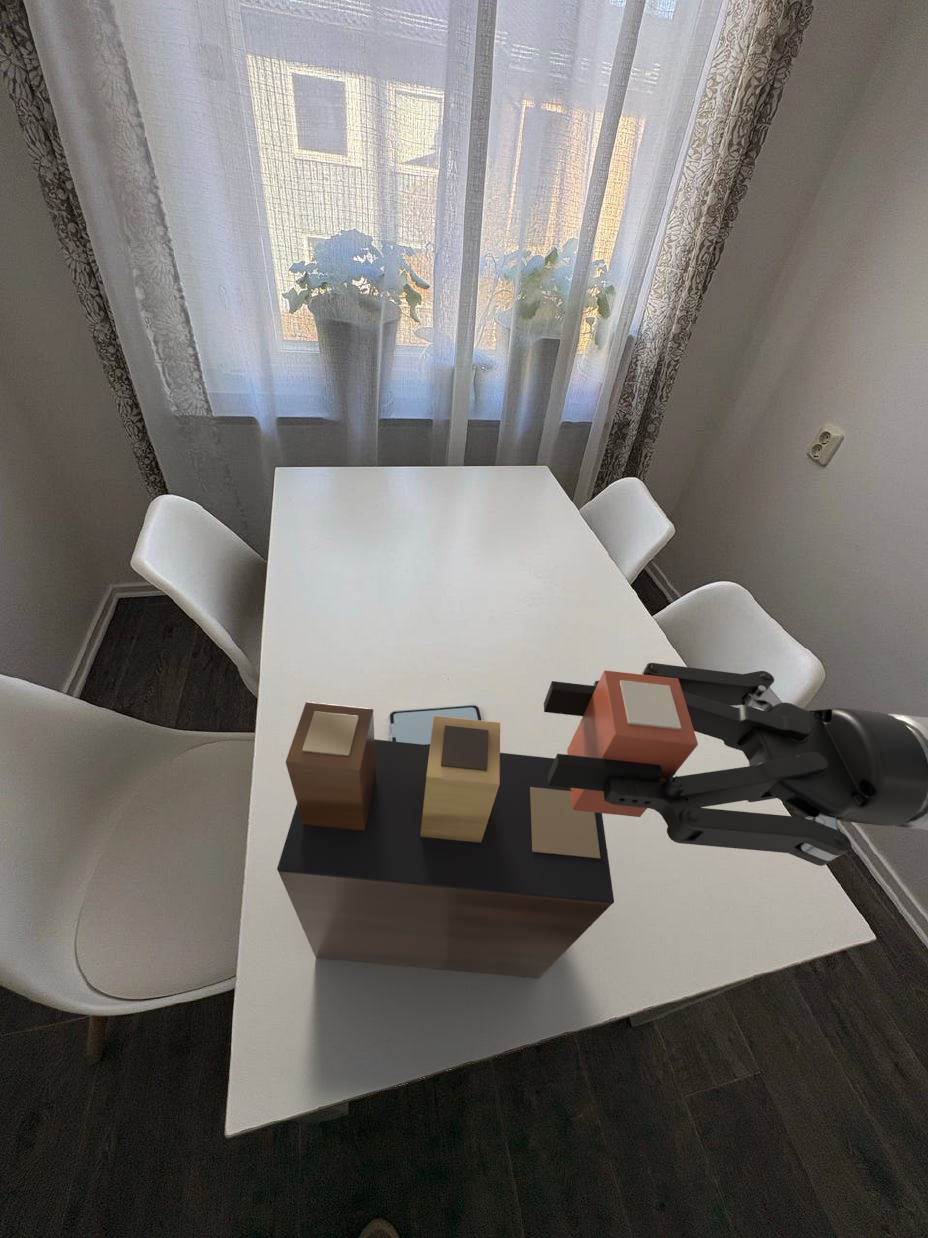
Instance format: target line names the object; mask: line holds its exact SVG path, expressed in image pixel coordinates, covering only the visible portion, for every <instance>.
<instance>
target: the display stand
mask: <svg viewBox="0 0 928 1238" xmlns="http://www.w3.org/2000/svg"><path fill="white" fill-rule="evenodd" d="M277 872H278V874H279V877H280V879H281V881H282V884H283V886H284V887H285V888H284V889H285V891H286V893H287V895H288V898H289V900H290V902H291V904H292V906H293V909H294V911H295V913H296V916H297V918H298V921H299V923H300V925H301V928H302V930H303V932H304V934H305V937H306V939H307V941H308V943H309V946H310V948H311V951H312V953H313V956H314V957H315V959H321V960H331V961H343V962H355V963H366V964H376V965H384V966H385V965H386V966H387V965H388V966H395V967H396V966H397V967H406V968H407V967H409V968H418V969H429V970H439V971H440V970H441V971H451V972H452V971H453V972H463V973H473V974H485V975H494V976H495V975H496V976H504V977H505V976H506V977H515V978H516V977H517V978H528V979H536V980H537V979H538V980H539V979H540V978H541V977H542V976H544V974H546V972H547V971H548V970H549V969H550V968H551V967H552V966H553V965H554V964H555V963H556V962H557V961H558V960H559V959H560V958H561V957H562V956H563V955H564V954H565V953H566V952H567V951H568V950H569V949H570V948H571V946H573V944H575V942H576V941H578V940H579V938H580V937H581V936H582V935H584V934H585V932H586V931H587V930H589V928H591V926H592V925H593V924H594V923H595V922H596V921H597V920H598V919H599V918H600V917H601V916H602V915H603V914H604V913H605V912H606V911H607V910H608V909H609V908H610V907H611V906H612V905H613V904H610V903H600V902H590V901H580V900H569V899H559V898H549V897H539V896H528V895H518V894H508V893H498V892H487V891H477V890H467V889H457V888H446V887H436V886H426V885H416V884H405V883H395V882H385V881H374V880H364V879H354V878H344V877H333V876H323V875H313V874H303V873H292V872H282V871H278V870H277Z"/></svg>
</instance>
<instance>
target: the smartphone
mask: <svg viewBox="0 0 928 1238" xmlns="http://www.w3.org/2000/svg"><path fill="white" fill-rule="evenodd" d="M434 716H444V717H453V718H462V719H471V720H481V721H484V720H483V715H482V711H481V708H480V706H478V704H461V705H448V706H436V707H434V706H433V707H423V708H410V709H408V708H407V709H397V710H391V711H390V712H389V714H388V727H389V738H390V741H395V742H405V743H414V744H423V745H430V742H431V734H432V726H433V717H434Z"/></svg>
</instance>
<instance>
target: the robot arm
mask: <svg viewBox="0 0 928 1238" xmlns="http://www.w3.org/2000/svg"><path fill="white" fill-rule="evenodd" d="M641 675H650V676H659V677H668V678H676V679H679V683H680V686H681V689H682V693H683V696H684V699H685V703H686V706H687V709H688V713H689V716H690V719H691V722H692V726H693V729H694V732H696V733H699V734H702V735H706V736H709V737H711V738H715V739H718V740H721V741H723V745H725V746H726V747H728V748H732V749H733V750H734V749H735V750H738V751H740V752H742V754H744V756H745V759H746V760H748V766H741V767H735V768H727V769H721V770H714V771H707V772H700V773H692V774H685V775H676V773H677V772H676V773H675V772H673V773H671V774H670V776H669V777H668V778H667V780H666V781H659V780H660V779H661V778H662V776H663V775H662V770H661V766H660V765H655V764H646V763H637V762H628V761H619V760H609V759H603V758H593V757H584V756H575V755H568V754H566V753H565V754H564V753H557V754H556V755H555V760H554V762H553V765H552V767H551V769H550V771H549V774H548V784H549V786H558V787H568V788H577V789H586V790H595V791H603V792H604V799H605V801H607V802H609V803H611V804H613V805H623V806H632V807H641V808H647V809H651V810H654V811H655V812H657V813H658V814H659V815H660V816H661V817H662V819H663V820H664V823H665V824H666V826H667V828H666V834H667V836H668V838H669V839H670V840H671V841H673V842H674V843H677V844H683V845H692V846H693V845H694V846H704V847H705V846H706V847H717V848H727V849H738V850H748V851H760V852H761V851H762V852H770V853H783V854H789V855H791V856H794V857H796V858H799V859H801V860H804V861H806V862H808V863H811V864H813V865H816V866H819V867H822V866H826V865H827V864H829V863H830V862H832V861H834V860H835V859H837V858H838V857H840V856H842V855H844V854H845V853H848V852H849V851H850V850H851V848H852V843H851V840H850V838H849V836H847V835H846V834H845V833H844V832H842V831H840V830H839V827H838V821H840V822H845V823H846V822H847V823H855V824H864V825H874V826H883V827H899V828H905V829H906V828H907V829H913V830H914V829H915V830H924V831H928V717H925V716H917V715H916V716H915V715H909V714H902V713H884V712H880V711H871V710H870V711H869V710H863V709H862V710H861V709H852V708H845V707H844V708H843V707H829V708H823V709H816V710H808V709H805V708H802V707H800V706H799V705H796V704H794V703H791V702H783V701H782V700H781V699H780V697H779V696H778V695H777V693H775V692H774V690H773V689H772V688H771V686H772V685H773V683H774V682H775V677H774V675H772V674H771V673H770V672H768V671H766V670H758V671H753V672H752V671H751V672H748V673H737V672H728V671H722V670H721V671H720V670H714V669H713V670H712V669H706V668H697V667H690V666H683V665H681V666H680V665H672V664H665V663H657V662H649V663H647V664H646V665H645V667H644V669H643V671H642V672H641ZM598 683H599V680H594V683H593V684H592V685H591V684H582V683H573V682H564V681H557V680H551V681H550V685H549V688H548V690H547V694H546V695H545V699H544V701H543V712H544V713H547V714H548V713H550V714H558V715H565V716H566V715H567V716H576V717H583V715H584V713H585V711H586V708H587V706H588V704H589V702H590V700H591V698H592V695H593V693H594V691H595V689H596V687H597V685H598ZM737 706H738V707H737ZM739 706H740V707H739ZM675 775H676V776H675ZM774 799H775V800H776V799H778V800H779V801H780V802H783V803H784V804H786V805H787V806H789V807H791V809H793V810H795V811H797V813H800V814H801V815H803V816H804V817H801V816H794V815H783V814H774V813H773V814H771V813H762V812H749V811H741V810H740V811H739V810H729V809H718V808H708V807H713V806H718V805H726V804H732V803H738V802H745V801H747V802H748V803H756V802H762V801H768V800H774Z"/></svg>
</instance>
